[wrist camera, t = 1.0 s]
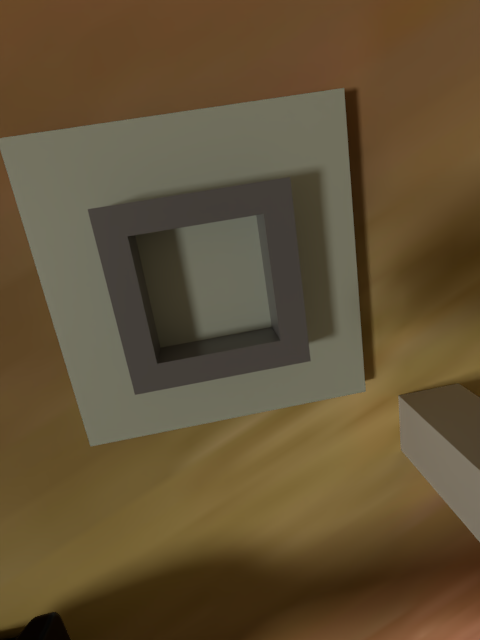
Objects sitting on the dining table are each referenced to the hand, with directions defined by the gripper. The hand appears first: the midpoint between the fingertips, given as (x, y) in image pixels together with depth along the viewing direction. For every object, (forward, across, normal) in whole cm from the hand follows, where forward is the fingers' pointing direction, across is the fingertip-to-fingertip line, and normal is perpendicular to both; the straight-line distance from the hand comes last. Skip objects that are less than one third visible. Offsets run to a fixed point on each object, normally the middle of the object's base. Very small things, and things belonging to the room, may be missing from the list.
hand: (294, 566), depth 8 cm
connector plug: (+13, -10, +7) cm, 18 cm away
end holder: (+13, 0, -3) cm, 13 cm away
